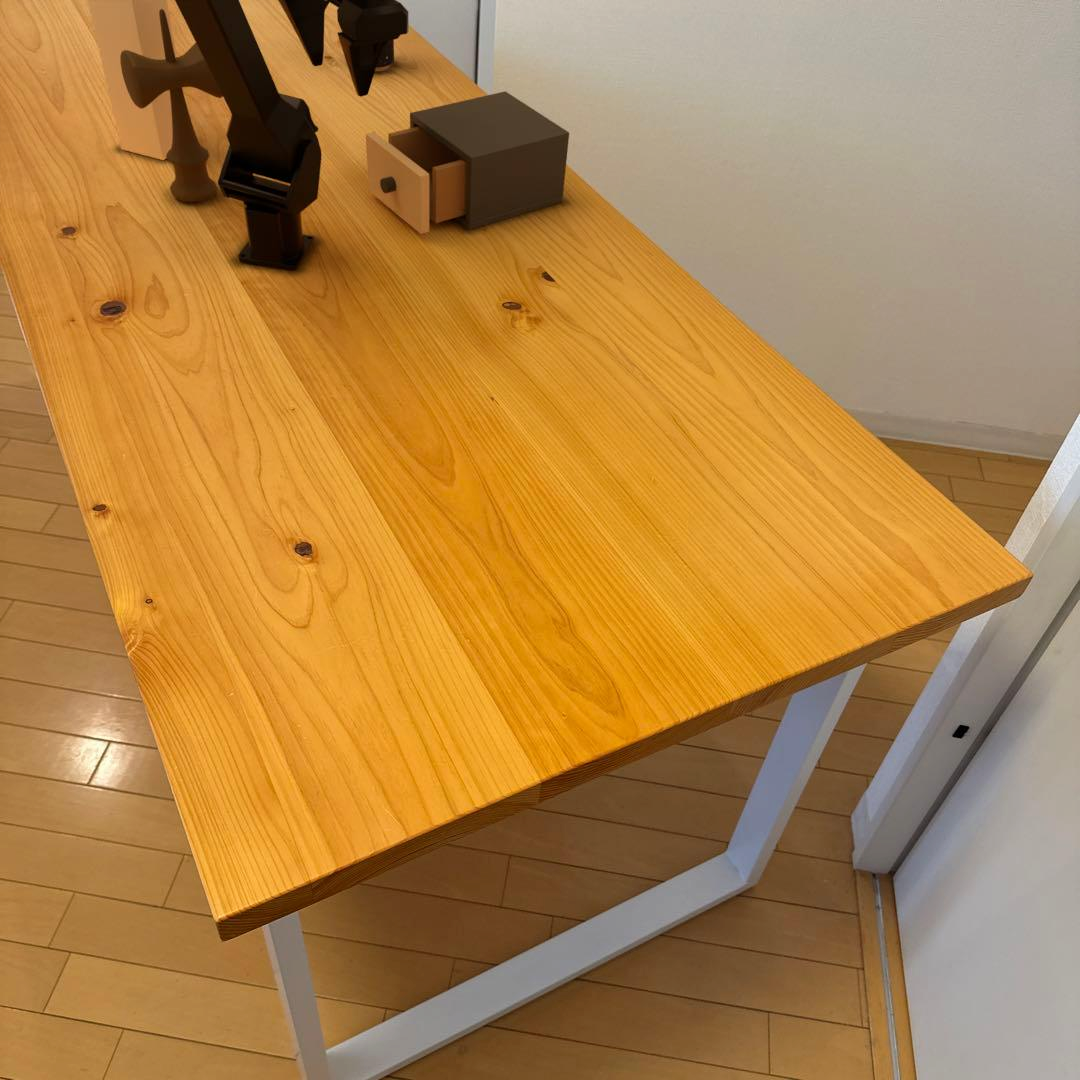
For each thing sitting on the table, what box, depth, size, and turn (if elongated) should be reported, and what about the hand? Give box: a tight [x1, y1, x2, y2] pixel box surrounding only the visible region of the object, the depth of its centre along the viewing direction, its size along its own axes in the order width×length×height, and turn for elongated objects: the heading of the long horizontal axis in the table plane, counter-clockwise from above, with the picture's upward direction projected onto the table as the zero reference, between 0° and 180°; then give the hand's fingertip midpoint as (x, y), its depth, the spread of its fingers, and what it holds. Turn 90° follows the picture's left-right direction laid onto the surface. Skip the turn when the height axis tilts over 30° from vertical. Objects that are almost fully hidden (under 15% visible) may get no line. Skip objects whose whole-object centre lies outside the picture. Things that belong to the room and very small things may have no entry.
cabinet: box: [409, 91, 570, 231], centre depth 119 cm, size 14×13×9 cm
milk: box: [87, 0, 184, 161], centre depth 115 cm, size 6×6×22 cm
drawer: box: [365, 126, 468, 235], centre depth 115 cm, size 14×11×7 cm
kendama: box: [120, 9, 224, 203], centre depth 109 cm, size 6×10×20 cm, turn 124°
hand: (339, 80), depth 110 cm, fingers open, 9 cm apart
